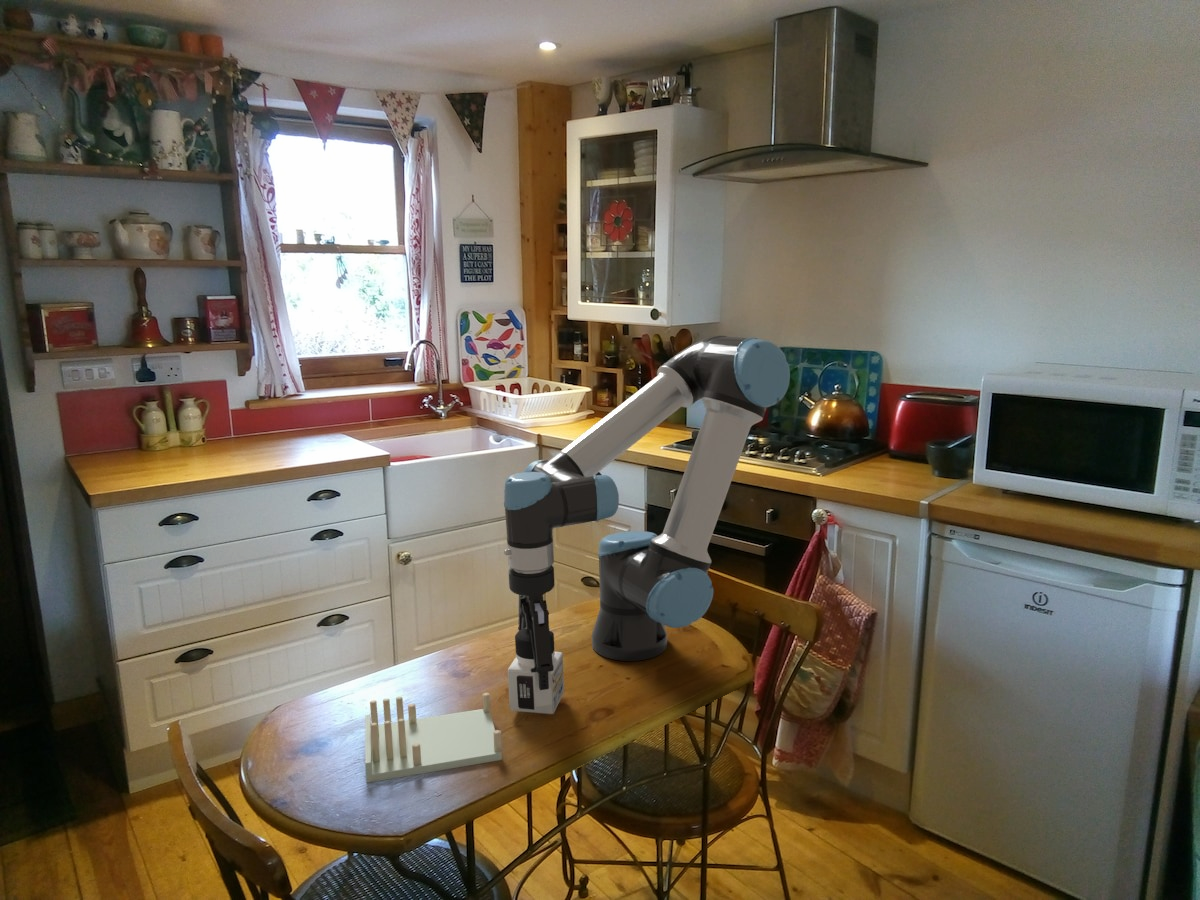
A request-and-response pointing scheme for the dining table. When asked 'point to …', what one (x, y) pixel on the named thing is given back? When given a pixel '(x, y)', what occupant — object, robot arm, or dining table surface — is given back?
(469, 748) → the dish rack
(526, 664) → the container
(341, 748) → the dining table surface
